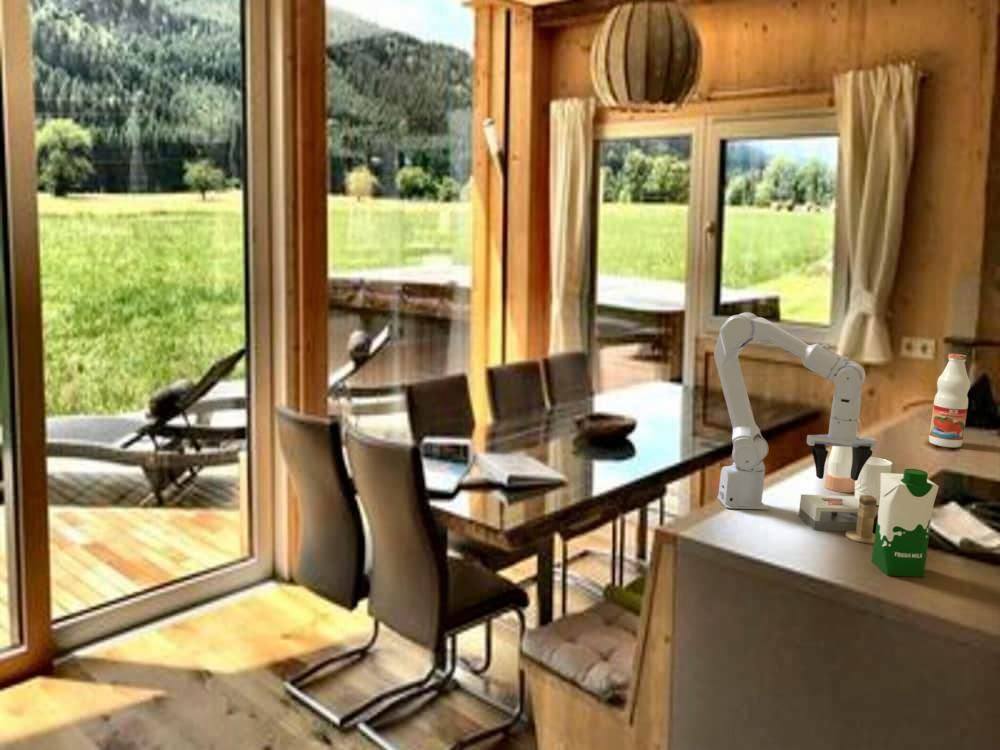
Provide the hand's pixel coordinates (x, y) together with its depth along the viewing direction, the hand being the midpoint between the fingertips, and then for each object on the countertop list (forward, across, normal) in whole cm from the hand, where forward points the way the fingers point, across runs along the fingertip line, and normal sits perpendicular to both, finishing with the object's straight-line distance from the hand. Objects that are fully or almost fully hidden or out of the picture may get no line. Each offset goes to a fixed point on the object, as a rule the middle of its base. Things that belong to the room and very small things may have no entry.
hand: (836, 478), depth 199 cm
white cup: (+10, +15, +16) cm, 24 cm away
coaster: (+10, +3, -10) cm, 14 cm away
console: (+10, 0, -2) cm, 10 cm away
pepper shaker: (+10, +12, +26) cm, 30 cm away
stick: (+9, +3, -10) cm, 14 cm away
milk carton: (+10, +2, -27) cm, 29 cm away
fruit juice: (+10, +67, +78) cm, 103 cm away
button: (+8, 0, -2) cm, 8 cm away
